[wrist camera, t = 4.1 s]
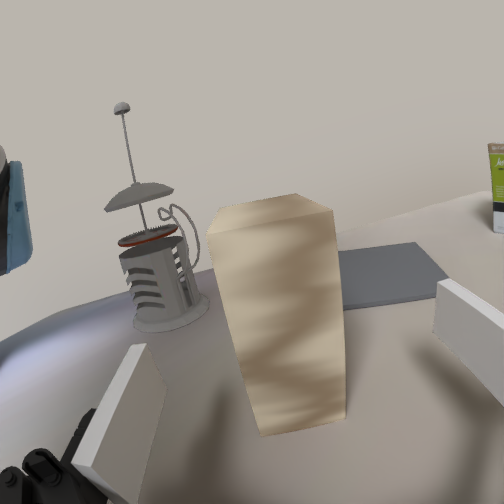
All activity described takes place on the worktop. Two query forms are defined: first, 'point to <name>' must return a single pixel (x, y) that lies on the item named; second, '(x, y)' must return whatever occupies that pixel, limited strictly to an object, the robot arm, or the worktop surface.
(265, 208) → the birch block
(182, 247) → the french press
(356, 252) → the mat
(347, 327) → the worktop surface
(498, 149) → the tea box
